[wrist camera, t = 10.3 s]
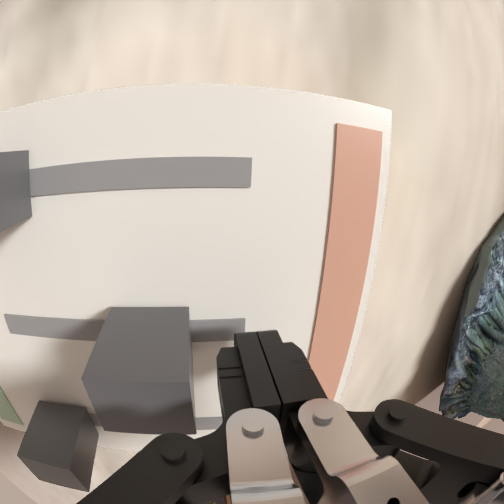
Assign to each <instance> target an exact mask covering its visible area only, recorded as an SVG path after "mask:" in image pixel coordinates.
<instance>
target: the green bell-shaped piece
mask: <svg viewBox="0 0 504 504" xmlns="http://www.w3.org/2000/svg"><path fill="white" fill-rule="evenodd" d="M439 411H441V412H442V416H445V417H448V418H451V419H455V418H456V417H457V416H458V418H462V417H464V416H466V415H467V414H468V413H469V412H474V413H477V414H479V415H482V416H485V417H487V418H497V419H502V420H503V421H504V215H503V217H502V218H501V220H500V221H499V223H498V224H497V226H496V227H495V228H494V230H493V231H492V233H491V234H490V235H489V237H488V238H487V239H486V241H485V242H484V243H483V245H482V246H481V248H480V251H479V253H478V256H477V258H476V261H475V263H474V266H473V268H472V270H471V273H470V275H469V277H468V280H467V282H466V285H465V290H464V294H463V298H462V302H461V306H460V310H459V313H458V317H457V320H456V324H455V327H454V330H453V334H452V337H451V345H450V352H449V358H448V364H447V370H446V377H445V383H444V387H443V390H442V393H441V396H440V406H439Z"/></svg>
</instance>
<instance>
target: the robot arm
mask: <svg viewBox="0 0 504 504" xmlns="http://www.w3.org/2000/svg"><path fill="white" fill-rule="evenodd" d="M216 361H217V384H218V393H219V400H220V407H221V414H222V421H223V422H222V424H221V426H220V427H219V428H218V429H217V430H215V431H214V432H212V433H210V434H208V435H205V436H202V437H199V438H196V439H193V438H192V437H190V436H188V435H185V434H182V433H165V434H162V435H159V436H157V437H156V438H154V439H153V440H152V441H151V442H149V443H148V444H147V445H146V446H145V447H144V448H143V449H142V450H141V451H139V452H138V453H137V454H136V455H135V456H134V457H133V458H131V459H130V460H129V461H128V462H127V463H126V464H125V465H123V466H122V467H121V468H120V469H119V470H117V471H116V472H115V473H114V474H113V475H112V476H110V477H109V478H108V479H107V480H106V481H104V482H103V483H102V484H101V485H99V486H98V487H97V488H96V489H94V490H93V491H92V492H91V493H89V494H88V495H87V496H86V497H84V498H83V499H82V500H81V501H79V502H78V503H77V504H208V502H211V501H214V500H217V499H219V498H222V497H225V496H227V495H230V502H231V504H504V435H503V434H499V433H496V432H492V431H489V430H486V429H482V428H479V427H476V426H472V425H469V424H466V423H463V422H460V421H457V420H454V419H451V418H448V417H445V416H442V415H440V414H436V413H434V412H431V411H428V410H426V409H423V408H420V407H417V406H415V405H412V404H410V403H407V402H404V401H401V400H396V399H391V400H386V401H383V402H381V403H380V404H379V405H378V406H377V407H376V409H375V411H374V412H351V411H346V410H345V409H344V408H343V406H341V405H340V404H339V403H337V402H335V401H333V400H330V399H328V397H327V396H326V394H325V392H324V390H323V388H322V386H321V384H320V383H319V381H318V379H317V377H316V375H315V373H314V371H313V369H311V366H310V364H309V362H308V361H307V358H306V356H305V354H304V353H303V351H302V349H300V348H299V347H298V346H297V345H295V344H294V343H293V342H285V343H283V342H282V339H281V337H280V335H279V333H278V331H277V330H266V331H256V332H255V331H254V332H239V333H234V347H224V348H221V349H220V351H219V353H218V355H217V357H216ZM285 448H286V451H287V454H288V457H287V455H286V451H285ZM400 449H402V450H404V451H407V452H409V453H412V454H415V455H417V456H420V457H423V458H426V459H428V460H425V459H422V458H419V457H416V456H413V455H411V454H408V453H405V452H403V451H400Z"/></svg>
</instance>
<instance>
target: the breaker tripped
mask: <svg viewBox="0 0 504 504" xmlns="http://www.w3.org/2000/svg"><path fill="white" fill-rule="evenodd" d="M81 379H82V382H83V384H84V387H85V389H86V391H87V394H88V396H89V399H90V401H91V403H92V406H93V408H94V410H95V412H96V414H97V417H98V419H99V421H100V423H101V425H102V427H103V429H104V431H110V432H121V433H135V434H159V435H162V434H165V433H182V434H185V435H191V434H197V431H196V417H195V400H194V379H193V354H192V342H191V329H190V315H189V307H111V309H110V311H109V313H108V315H107V318H106V320H105V322H104V324H103V327H102V329H101V331H100V333H99V336H98V338H97V340H96V343H95V345H94V347H93V350H92V352H91V355H90V357H89V360H88V362H87V365H86V367H85V370H84V372H83V375H82V378H81Z"/></svg>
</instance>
